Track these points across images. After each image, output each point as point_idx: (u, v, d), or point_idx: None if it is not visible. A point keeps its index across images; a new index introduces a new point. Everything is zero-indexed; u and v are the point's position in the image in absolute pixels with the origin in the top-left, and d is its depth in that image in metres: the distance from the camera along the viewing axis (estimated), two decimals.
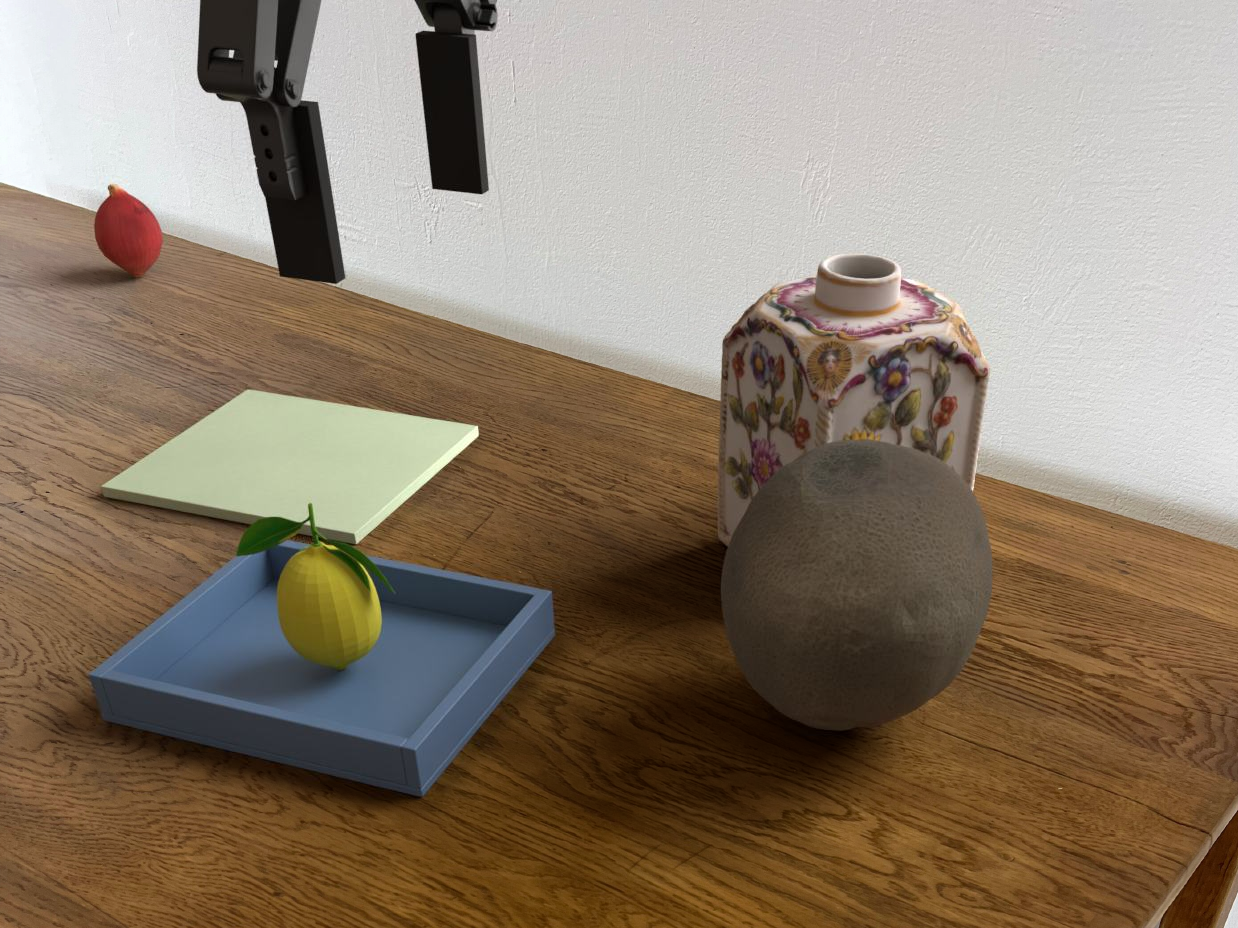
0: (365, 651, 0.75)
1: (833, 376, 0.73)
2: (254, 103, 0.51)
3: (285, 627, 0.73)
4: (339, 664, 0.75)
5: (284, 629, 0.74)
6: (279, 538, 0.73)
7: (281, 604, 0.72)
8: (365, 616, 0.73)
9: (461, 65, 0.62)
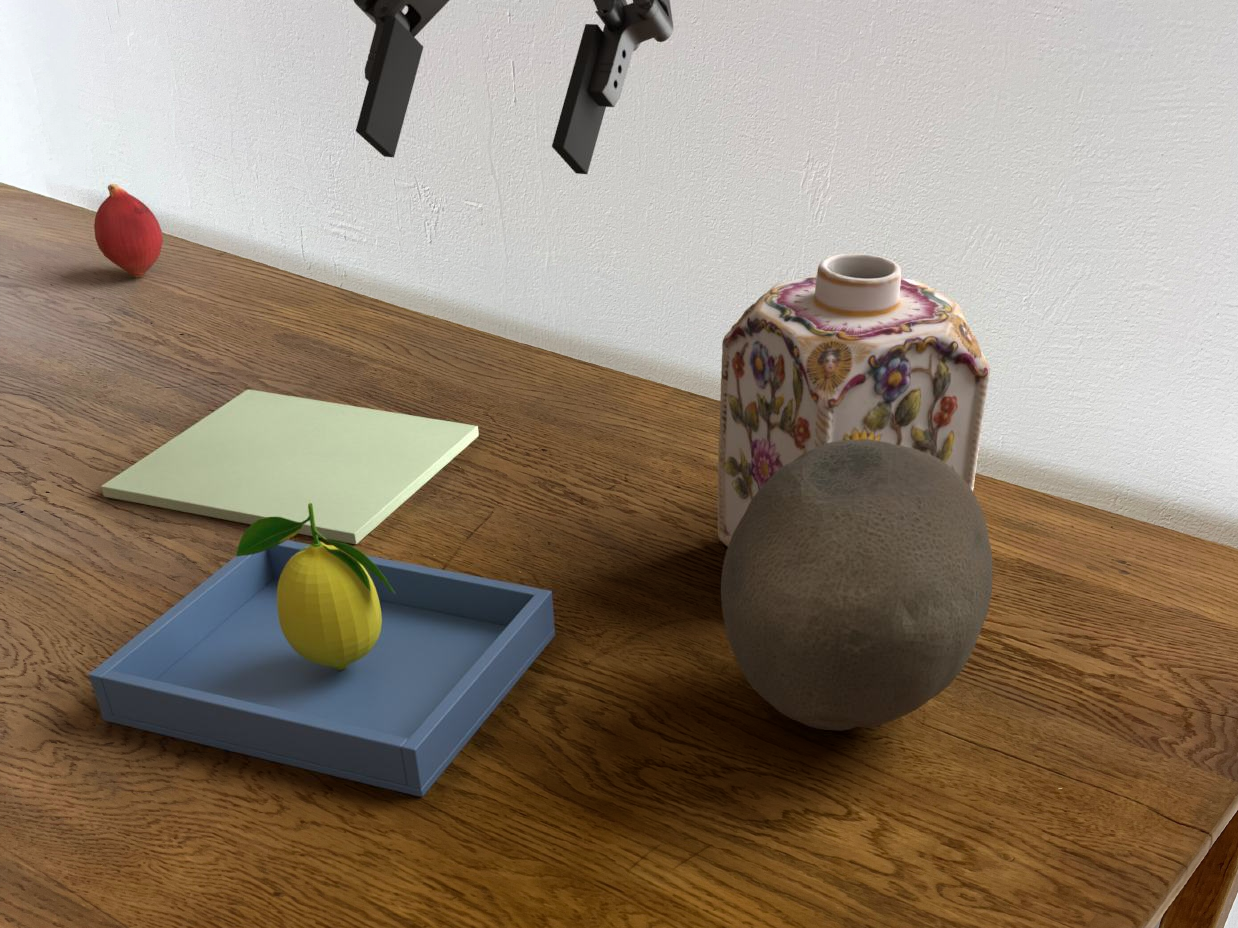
0: (365, 651, 0.75)
1: (833, 376, 0.73)
2: (632, 35, 0.72)
3: (285, 627, 0.73)
4: (339, 664, 0.75)
5: (284, 629, 0.74)
6: (279, 538, 0.72)
7: (281, 604, 0.72)
8: (365, 616, 0.73)
9: (413, 61, 0.79)
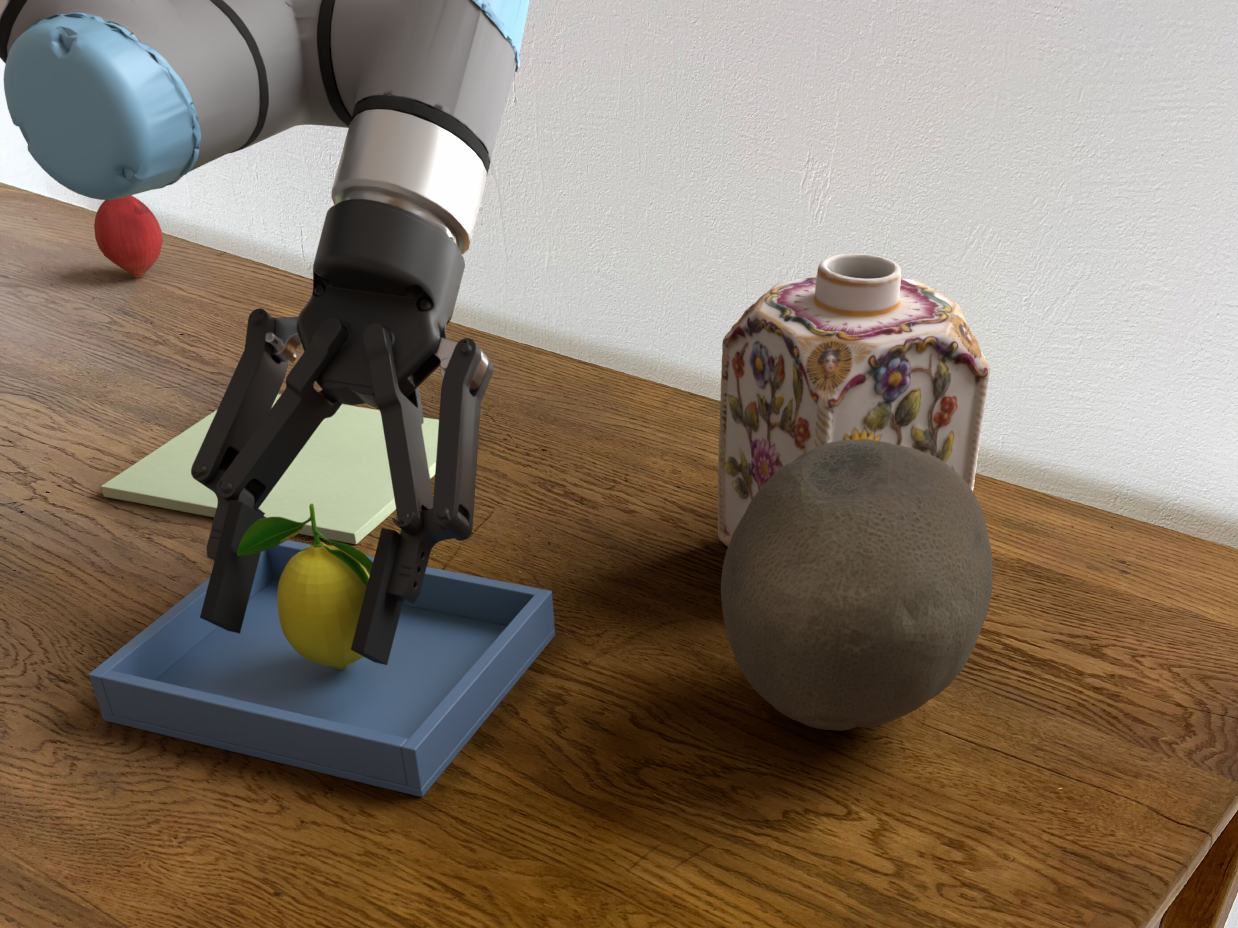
0: None
1: (833, 376, 0.73)
2: (431, 538, 0.71)
3: (285, 627, 0.73)
4: (339, 664, 0.75)
5: (284, 629, 0.73)
6: (280, 538, 0.72)
7: (282, 604, 0.72)
8: None
9: None
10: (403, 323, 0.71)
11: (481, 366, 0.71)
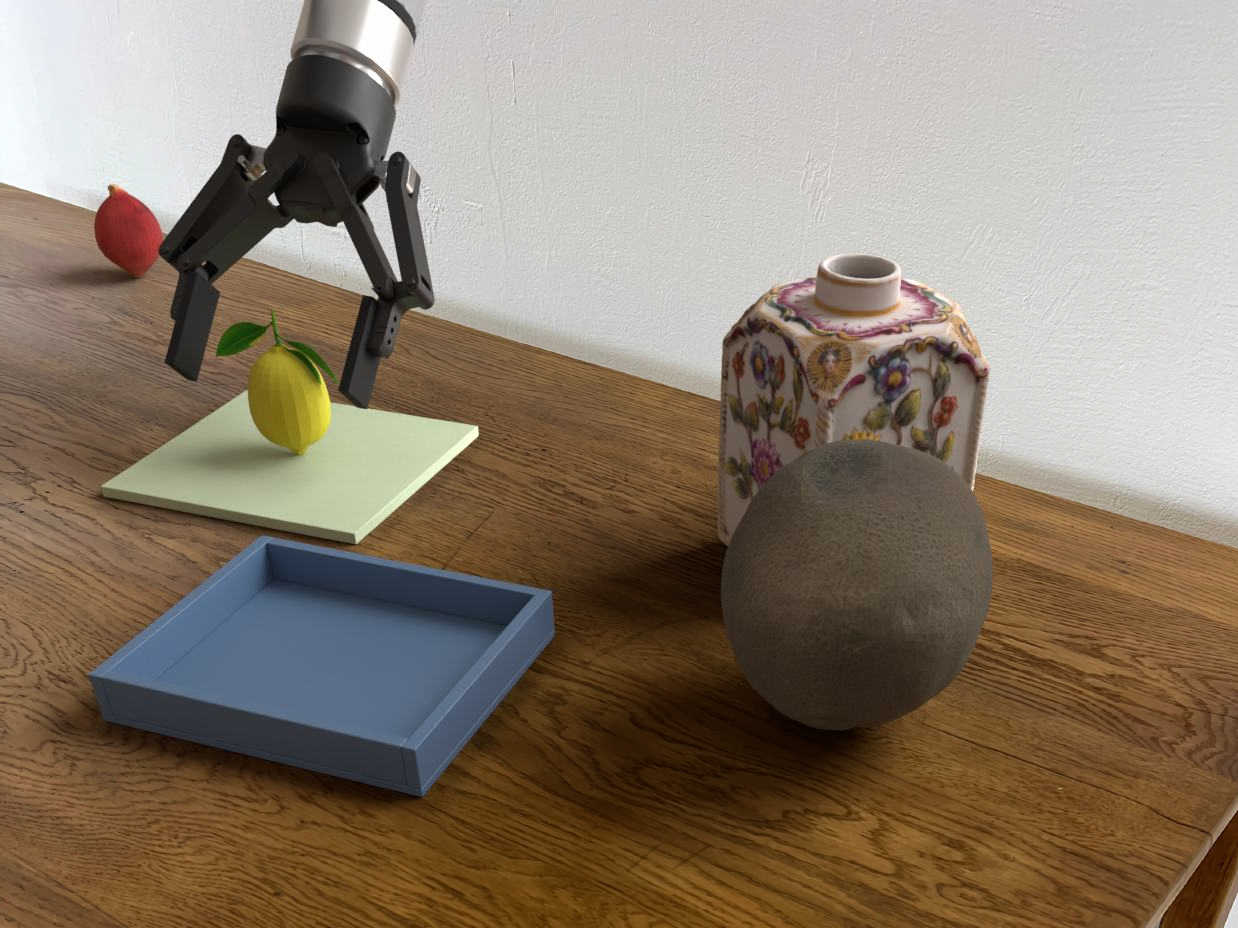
0: (317, 435, 0.95)
1: (833, 376, 0.73)
2: (401, 305, 0.90)
3: (253, 413, 0.93)
4: (297, 445, 0.95)
5: (253, 415, 0.94)
6: (249, 341, 0.93)
7: (251, 393, 0.93)
8: (317, 404, 0.93)
9: (212, 304, 0.95)
10: (346, 154, 0.91)
11: (411, 173, 0.90)
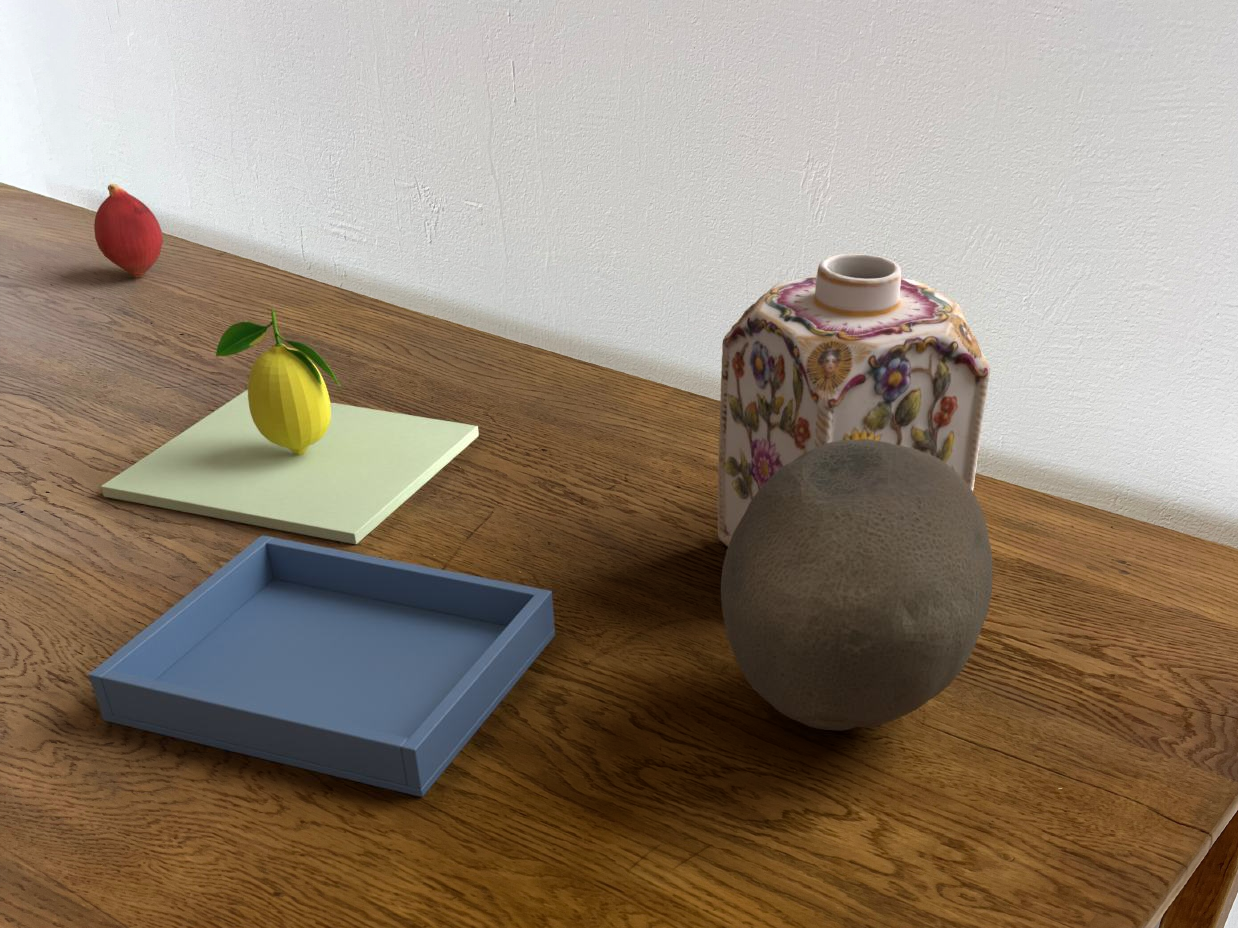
0: (317, 435, 0.95)
1: (833, 376, 0.73)
2: None
3: (254, 413, 0.93)
4: (297, 445, 0.95)
5: (253, 415, 0.94)
6: (249, 341, 0.93)
7: (251, 393, 0.93)
8: (317, 404, 0.93)
9: None
10: None
11: None
